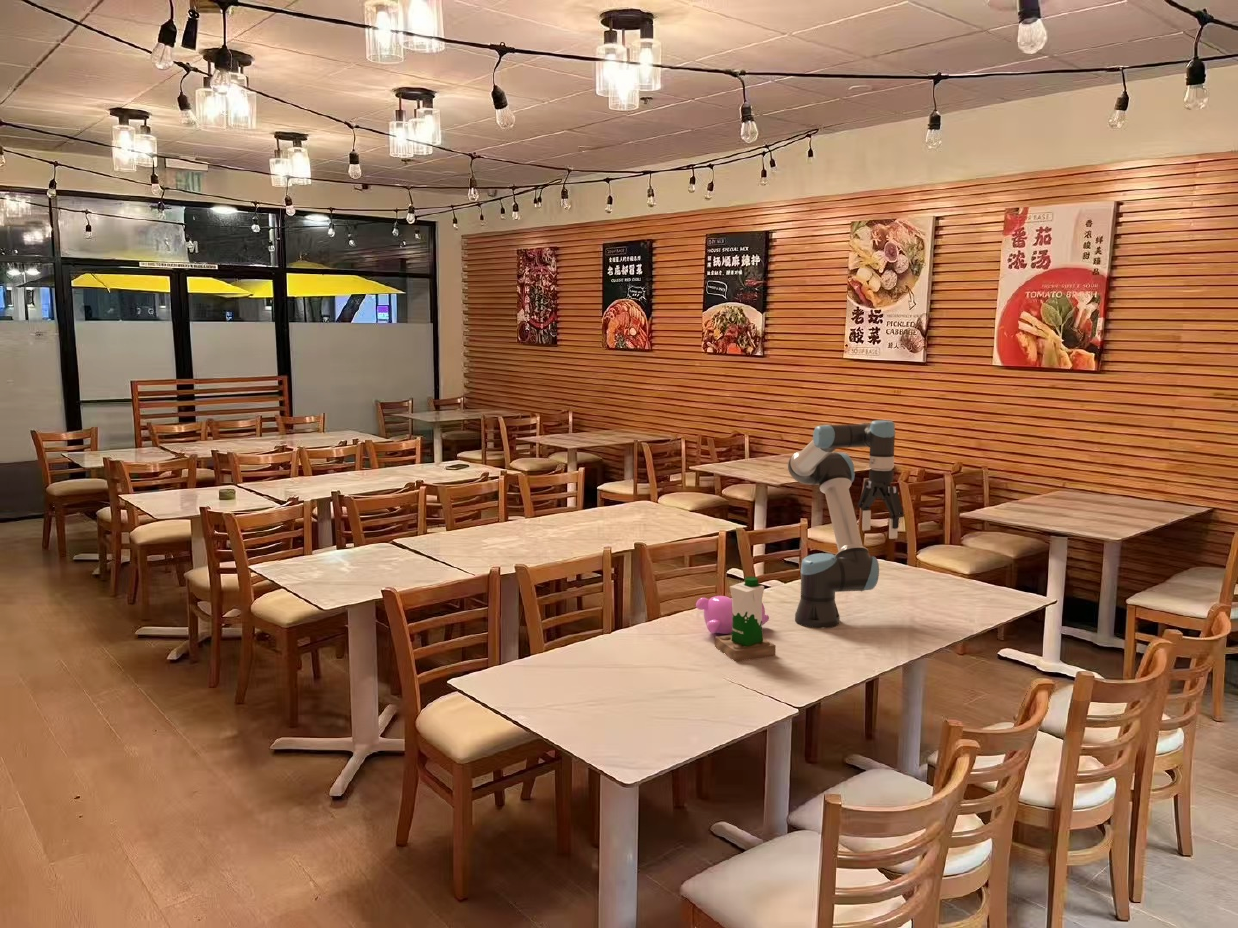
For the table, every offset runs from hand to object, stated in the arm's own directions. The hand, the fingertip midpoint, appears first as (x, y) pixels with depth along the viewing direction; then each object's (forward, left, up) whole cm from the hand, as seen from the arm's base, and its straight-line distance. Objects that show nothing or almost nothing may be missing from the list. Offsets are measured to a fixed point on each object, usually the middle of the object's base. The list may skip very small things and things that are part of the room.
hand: (879, 534), depth 291 cm
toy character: (-25, -40, -35) cm, 59 cm away
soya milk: (-5, -46, -31) cm, 56 cm away
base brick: (-6, -46, -35) cm, 58 cm away
